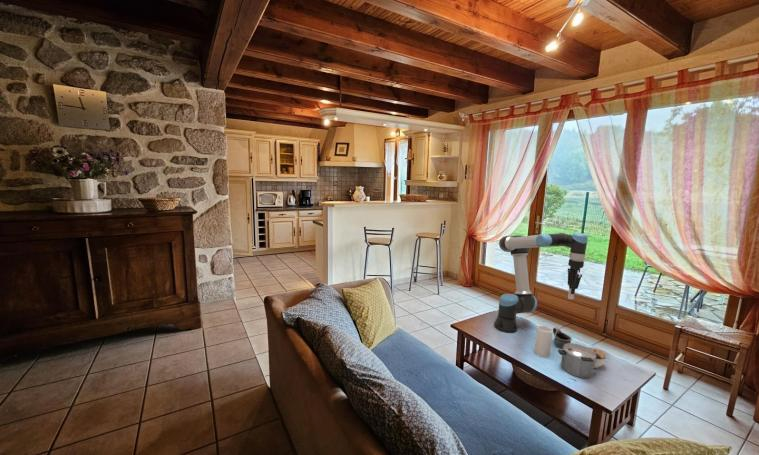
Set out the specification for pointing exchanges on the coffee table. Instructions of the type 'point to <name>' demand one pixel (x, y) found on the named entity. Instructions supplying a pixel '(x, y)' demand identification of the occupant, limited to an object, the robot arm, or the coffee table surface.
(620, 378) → the coffee table surface
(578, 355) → the lid
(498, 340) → the coffee table surface
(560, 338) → the mug
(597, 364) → the lidded jar
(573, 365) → the pot
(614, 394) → the coffee table surface
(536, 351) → the cup
